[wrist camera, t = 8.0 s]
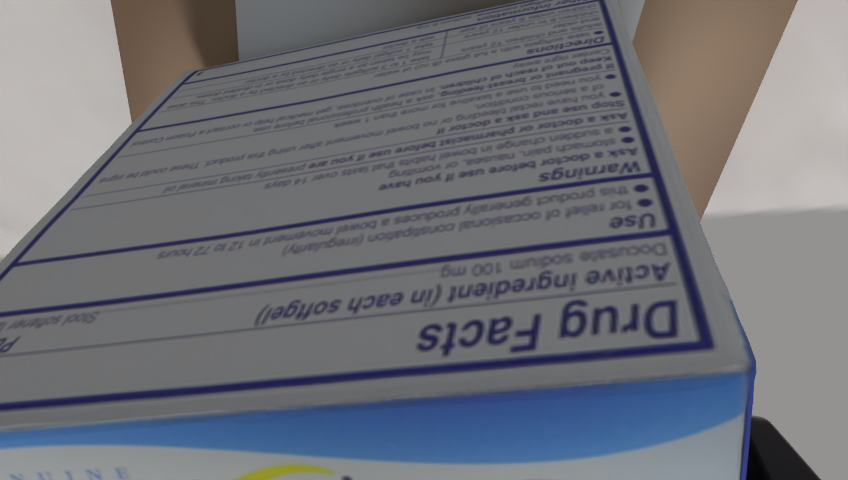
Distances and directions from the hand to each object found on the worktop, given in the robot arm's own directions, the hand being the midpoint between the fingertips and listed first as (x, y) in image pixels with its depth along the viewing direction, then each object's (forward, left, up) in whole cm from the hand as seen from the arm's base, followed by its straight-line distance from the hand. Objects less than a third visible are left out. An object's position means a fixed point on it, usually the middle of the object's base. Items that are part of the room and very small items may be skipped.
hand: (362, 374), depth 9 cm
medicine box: (0, 0, -6) cm, 6 cm away
